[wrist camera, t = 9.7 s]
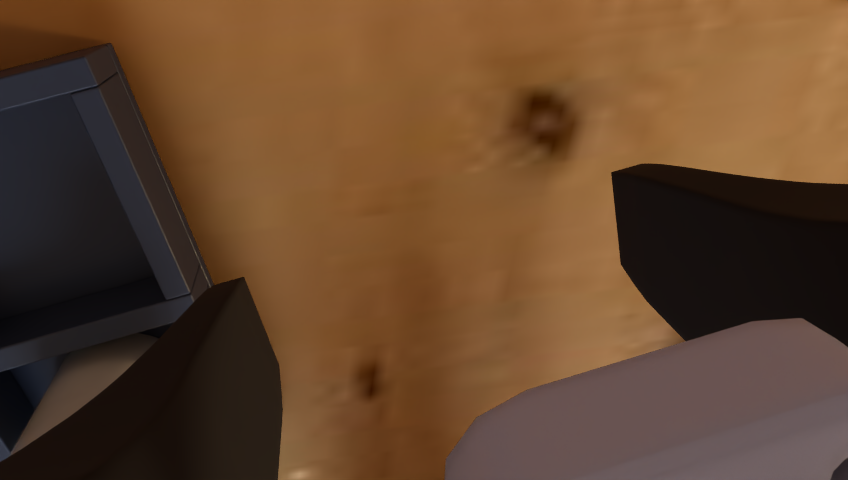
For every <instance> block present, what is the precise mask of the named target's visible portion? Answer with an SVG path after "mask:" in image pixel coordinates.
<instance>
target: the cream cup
mask: <svg viewBox="0 0 848 480" xmlns="http://www.w3.org/2000/svg"><path fill="white" fill-rule="evenodd" d="M158 339H159V338H157V337H154V336H151V335H146V334H141V333H135V334H131V335H128V336H124V337H121V338H117V339H114V340H110V341H107V342H104V343H100V344H97V345H93V346H90V347H86V348H83V349H79V350H76V351H72V352H70V353H69V354H68V355H67V356H66V357H65V358H64V360H63V361H62V362H61V364H60V366H59V367H58V369H57V371H56V373H55V374H54V376H53V378H52V380H51V381H50V383H49V385H48V387H47V389H46V390H45V392H44V394H43V396H42V397H41V399H40V401H39V403H38V405H37V406H36V408H35V410H34V412H33V413H32V415H31V417H30V419H29V421H28V422H27V424H26V426H25V428H24V429H23V431H22V433H21V435H20V437H19V438H18V440H17V442H16V444H15V445H14V447H13V449H12V451H11V453H10V454H9V456H11V455H13V454H14V453H16V452H17V451H19V450H21V449H22V448H24V447H25V446H27V445H28V444H30V443H31V442H33V441H34V440H36V439H37V438H38V437H40V436H41V435H43V434H44V433H46V432H47V431H49V430H50V429H52V428H53V427H55V426H56V425H58V424H59V423H61V422H62V421H64V420H65V419H67V418H68V417H69V416H71V415H72V414H74V413H75V412H76V411H78V410H79V409H80V408H81V407H83V406H84V405H85V404H87V403H88V402H89V401H90V400H92V399H93V398H94V397H95V396H97V395H98V394H99V393H101V392H102V391H103V390H104V389H105V388H107V387H108V386H109V385H110V384H111V383H112V382H114V381H115V380H116V379H117V378H118V377H119V376H120V375H122V374H123V373H124V372H125V371H126V370H127V369H128V368H129V367H130V366H131V365H132V364H133V363H134V362H135V361H136V360H137V359H138V358H139V357H141V356H142V355H143V354H144V353H145V352H146V351H147V350H148V349H149V348H150V347H151V346H152V345H153V344H154V343H155V342H156V341H157V340H158ZM9 456H8V457H9Z"/></svg>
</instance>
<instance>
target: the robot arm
mask: <svg viewBox="0 0 848 480" xmlns="http://www.w3.org/2000/svg"><path fill="white" fill-rule="evenodd" d="M611 174H612V184H613V193H614V203H615V212H616V222H617V232H618V241H619V251H620V260H621V265H622V267H623V268H624V270H625V271H626V273H627V274H628V276H629V277H630V279H631V280H632V282H633V283H634V284H635V286H636V287H637V289H638V290H639V291H640V293H641V294H642V295H643V297H644V298H645V299H646V301H647V302H648V303H649V304H650V305H651V306H652V307H653V308H654V309H655V310H656V311H657V312H658V313H659V314H660V315H661V316H662V317H663V318H664V319H665V321H666V322H667V323H668V324H669V325H670V326H671V327H672V328H673V329H674V330H675V331H676V332H677V333H678V334H679V335H680V336H681V337H682V338H683V339H684V340H685V341H686V342H682V343H679V344H676V345H673V346H669V347H666V348H663V349H659V350H656V351H653V352H650V353H646V354H643V355H640V356H636V357H633V358H630V359H627V360H623V361H620V362H617V363H613V364H610V365H607V366H604V367H600V368H597V369H594V370H590V371H587V372H584V373H581V374H577V375H574V376H571V377H567V378H564V379H561V380H558V381H554V382H551V383H548V384H545V385H541V386H538V387H535V388H531V389H528V390H526V391H524V392H522V393H520V394H518V395H516V396H515V397H513V398H511V399H509V400H507V401H506V402H504V403H502V404H500V405H498V406H496V407H495V408H493V409H491V410H489V411H487V412H485V413H484V414H482V415H480V416H478V417H476V419H475V420H474V421H473V423H472V424H471V425H470V427H469V428H468V430H467V431H466V432H465V434H464V435H463V436H462V438H461V439H460V440H459V442H458V443H457V445H456V446H455V447H454V449H453V450H452V451H451V453H450V454H449V455H448V457H447V458H446V465H445V480H848V184H827V183H807V182H793V181H784V180H774V179H764V178H756V177H748V176H741V175H733V174H727V173H720V172H713V171H707V170H700V169H693V168H687V167H680V166H672V165H663V164H639V165H636V166H632V167H629V168H625V169H621V170H618V171H614V172H611ZM282 410H283V408H282V393H281V381H280V370H279V364H278V361H277V359H276V356H275V354H274V351H273V349H272V346H271V344H270V341H269V339H268V336H267V334H266V331H265V329H264V326H263V324H262V321H261V319H260V316H259V314H258V311H257V309H256V306H255V304H254V301H253V299H252V296H251V294H250V291H249V289H248V286H247V284H246V281H245V278H244V277H241V278H238V279H234V280H231V281H227V282H224V283H220V284H217V285H213V286H211V287H210V288H208V289H207V290H206V291H205V292H203V293H202V294H201V295H200V296H199V297H198V298H197V299H196V300H195V301H194V302H193V303H192V304H191V305H190V306H189V308H188V309H187V310H186V311H185V312H184V313H183V314H182V315H181V316H180V317H179V318H178V319H177V320H176V321H175V322H174V323H173V324H172V325H171V327H170V328H169V329H168V330H167V331H166V332H165V333H164V334H163V335H162V336H161V337H160V338H159V339H158V340H157V341H156V342H155V343H154V344H153V345H152V346H151V347H150V348H149V349H148V350H147V351H146V352H145V353H144V354H143V355H142V356H141V357H139V358H138V359H137V360H136V361H135V362H134V363H133V364H132V365H131V366H130V367H129V368H128V369H127V370H126V371H125V372H124V373H123V374H122V375H120V376H119V377H118V378H117V379H116V380H115V381H114V382H112V383H111V384H110V385H109V386H108V387H107V388H105V389H104V390H103V391H102V392H101V393H99V394H98V395H97V396H95V397H94V398H93V399H92V400H90V401H89V402H88V403H87V404H85V405H84V406H83V407H81V408H80V409H79V410H78V411H76V412H75V413H74V414H72V415H71V416H69V417H68V418H67V419H65V420H64V421H62V422H61V423H59V424H58V425H56V426H55V427H53V428H52V429H50V430H49V431H47V432H46V433H44V434H43V435H41V436H40V437H38V438H37V439H36V440H34V441H33V442H31V443H30V444H28V445H27V446H25V447H24V448H22V449H21V450H19V451H17V452H16V453H14V454H13V455H11V456H9V457H8V458H6V459H4V460H3V461H1V462H0V480H278V468H279V455H280V441H281V427H282Z"/></svg>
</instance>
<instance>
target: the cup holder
mask: <svg viewBox="0 0 848 480" xmlns="http://www.w3.org/2000/svg"><path fill="white" fill-rule="evenodd" d="M213 285H214V284H213V282H212V279H211V277H210V275H209V272H208V270H207V268H206V265H205V263H204V260H203V258H202V256H201V253H200V251H199V249H198V246H197V244H196V242H195V239H194V237H193V235H192V232H191V230H190V227H189V225H188V223H187V220H186V218H185V216H184V213H183V211H182V209H181V206H180V204H179V202H178V199H177V197H176V195H175V192H174V190H173V187H172V185H171V183H170V180H169V178H168V176H167V173H166V171H165V169H164V166H163V164H162V162H161V159H160V157H159V154H158V152H157V150H156V147H155V145H154V143H153V140H152V138H151V136H150V133H149V131H148V129H147V126H146V124H145V121H144V119H143V117H142V114H141V112H140V110H139V107H138V105H137V103H136V100H135V98H134V96H133V93H132V91H131V89H130V86H129V84H128V81H127V79H126V77H125V74H124V72H123V70H122V67H121V65H120V63H119V60H118V58H117V56H116V53H115V51H114V48H113V46H112V44H111V43H106V44H102V45H99V46H95V47H91V48H87V49H83V50H79V51H75V52H71V53H67V54H63V55H60V56H56V57H52V58H48V59H44V60H40V61H36V62H32V63H28V64H24V65H21V66H17V67H13V68H9V69H5V70H1V71H0V462H1V461H3V460H4V459H6V458H8V456H9V454H10V453H11V451H12V449H13V447H14V445H15V444H16V442H17V440H18V438H19V437H20V435H21V433H22V431H23V429H24V428H25V426H26V424H27V422H28V421H29V419H30V417H31V415H32V413H33V412H34V410H35V408H36V406H37V405H38V403H39V401H40V399H41V397H42V396H43V394H44V392H45V390H46V389H47V387H48V385H49V383H50V381H51V380H52V378H53V376H54V374H55V373H56V371H57V369H58V367H59V366H60V364H61V362H62V361H63V360H64V358H65V357H66V356H67V355H68V354H69V353H70V352H72V351H76V350H79V349H83V348H86V347H90V346H93V345H97V344H100V343H104V342H107V341H110V340H114V339H117V338H121V337H124V336H128V335H131V334H135V333H141V334H146V335H151V336H154V337H157V338H160V337H161V336H162V335H163V334H164V333H165V332H166V331H167V330H168V329H169V328H170V327H171V325H172V324H173V323H174V322H175V321H176V320H177V319H178V318H179V317H180V316H181V315H182V314H183V313H184V312H185V311H186V310H187V309H188V308H189V306H190V305H191V304H192V303H193V302H194V301H195V300H196V299H197V298H198V297H199V296H200V295H201V294H202V293H203V292H205V291H206V290H207V289H208V288H210V287H211V286H213Z"/></svg>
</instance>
